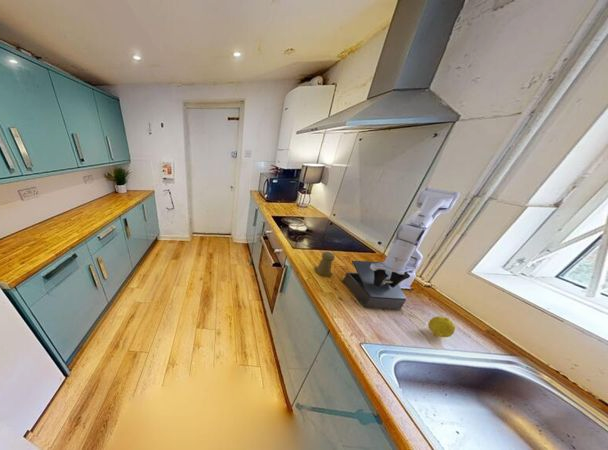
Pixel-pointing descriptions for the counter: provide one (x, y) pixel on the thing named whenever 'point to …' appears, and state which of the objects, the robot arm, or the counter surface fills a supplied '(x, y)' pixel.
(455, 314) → the counter surface
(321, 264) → the dark chess pawn
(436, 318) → the lemon
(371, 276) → the lid
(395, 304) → the grey hinged box
